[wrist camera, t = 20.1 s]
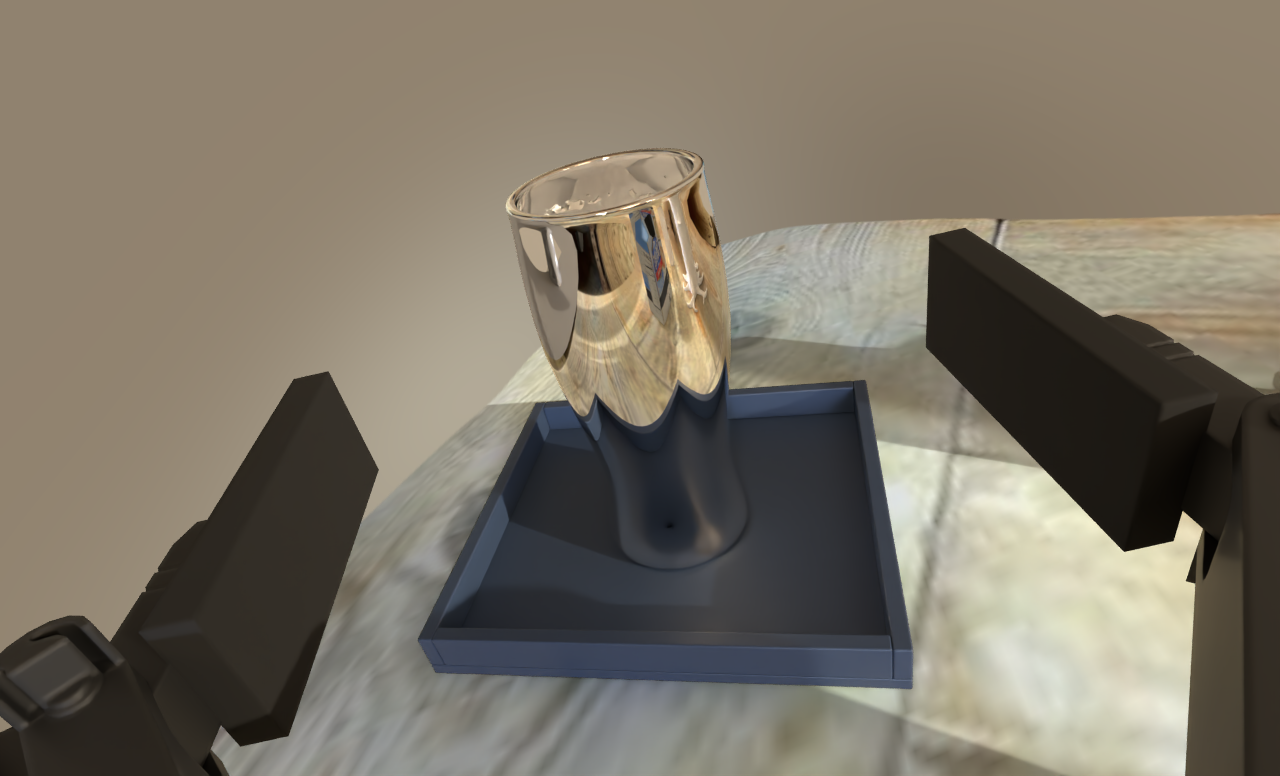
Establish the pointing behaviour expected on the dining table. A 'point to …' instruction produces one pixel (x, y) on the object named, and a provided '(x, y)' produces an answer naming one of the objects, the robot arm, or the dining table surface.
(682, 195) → the beer glass
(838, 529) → the dark blue tray
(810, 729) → the dining table surface
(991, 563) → the dining table surface
